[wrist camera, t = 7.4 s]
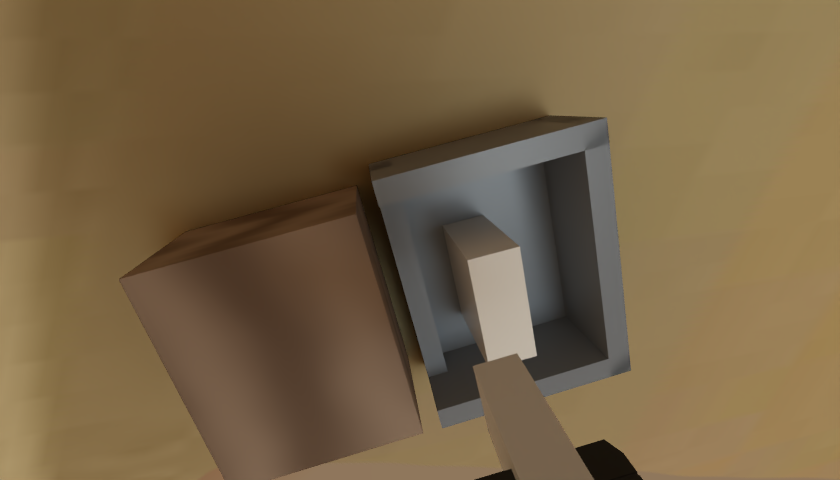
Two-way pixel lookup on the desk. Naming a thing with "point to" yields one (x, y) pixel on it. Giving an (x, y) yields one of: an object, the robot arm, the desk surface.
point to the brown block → (280, 336)
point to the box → (539, 244)
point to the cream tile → (491, 288)
